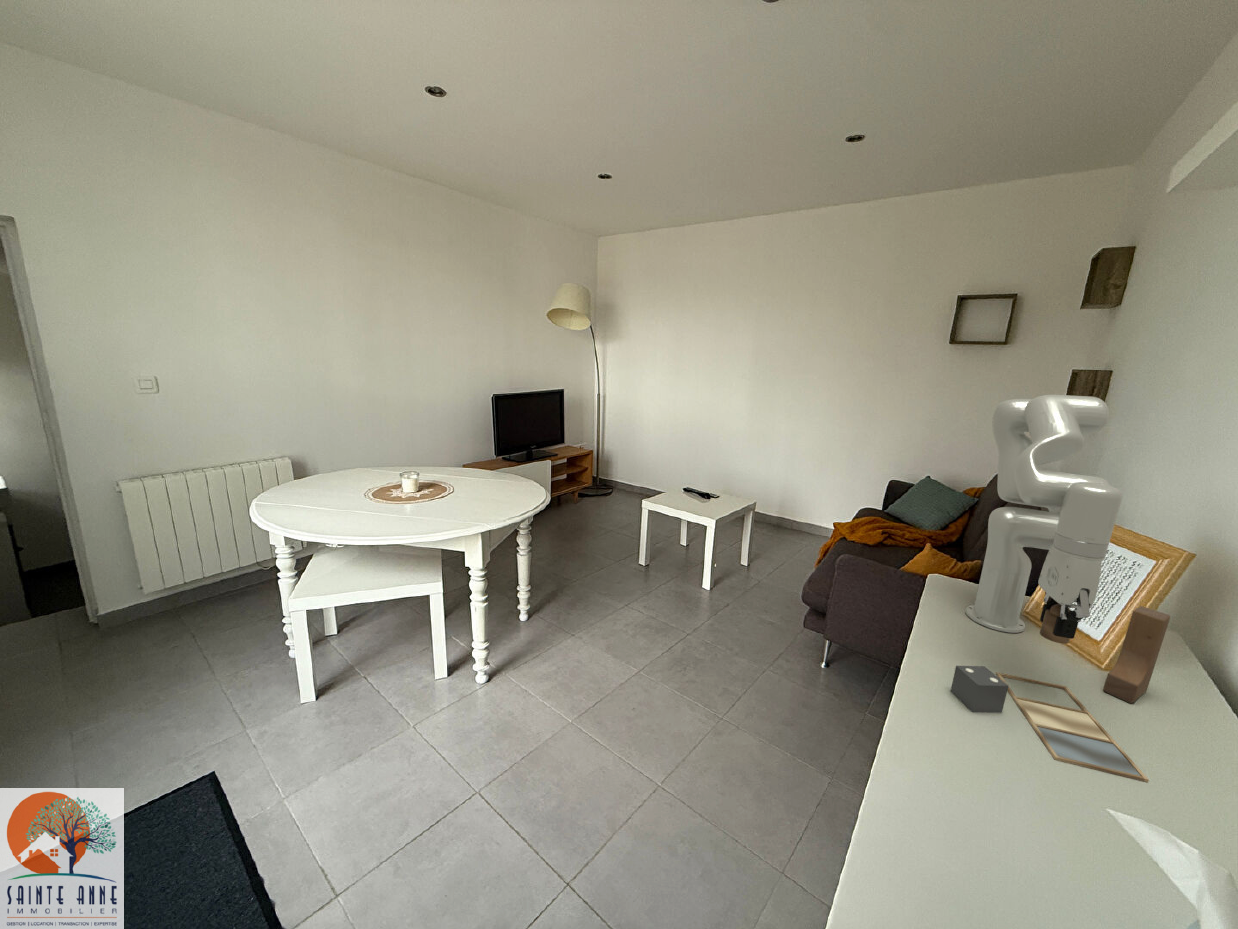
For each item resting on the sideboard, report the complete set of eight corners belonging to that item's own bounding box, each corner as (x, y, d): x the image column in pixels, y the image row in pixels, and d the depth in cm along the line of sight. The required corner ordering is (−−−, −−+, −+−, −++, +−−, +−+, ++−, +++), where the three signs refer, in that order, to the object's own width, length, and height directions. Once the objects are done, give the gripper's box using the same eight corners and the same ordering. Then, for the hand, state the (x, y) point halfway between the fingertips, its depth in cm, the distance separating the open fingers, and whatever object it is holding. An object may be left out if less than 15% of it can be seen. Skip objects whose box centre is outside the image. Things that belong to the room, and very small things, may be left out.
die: (950, 691, 98) (956, 665, 97) (978, 691, 98) (984, 665, 97) (972, 712, 92) (978, 684, 91) (1001, 712, 92) (1008, 685, 91)
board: (995, 674, 104) (996, 672, 104) (1065, 688, 100) (1066, 686, 100) (1054, 759, 82) (1055, 757, 81) (1147, 782, 78) (1148, 780, 78)
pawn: (1035, 629, 99) (1043, 598, 97) (1061, 633, 97) (1070, 602, 96) (1046, 640, 95) (1055, 608, 93) (1073, 645, 93) (1082, 613, 92)
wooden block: (1131, 705, 96) (1157, 625, 92) (1102, 691, 100) (1125, 614, 96) (1146, 691, 100) (1171, 615, 97) (1117, 679, 104) (1140, 605, 100)
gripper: (1034, 528, 100) (1015, 606, 105) (1080, 559, 85) (1055, 649, 89) (1078, 533, 98) (1056, 612, 102) (1133, 567, 82) (1105, 658, 87)
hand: (1056, 628), depth 96 cm, fingers closed on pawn, 4 cm apart
